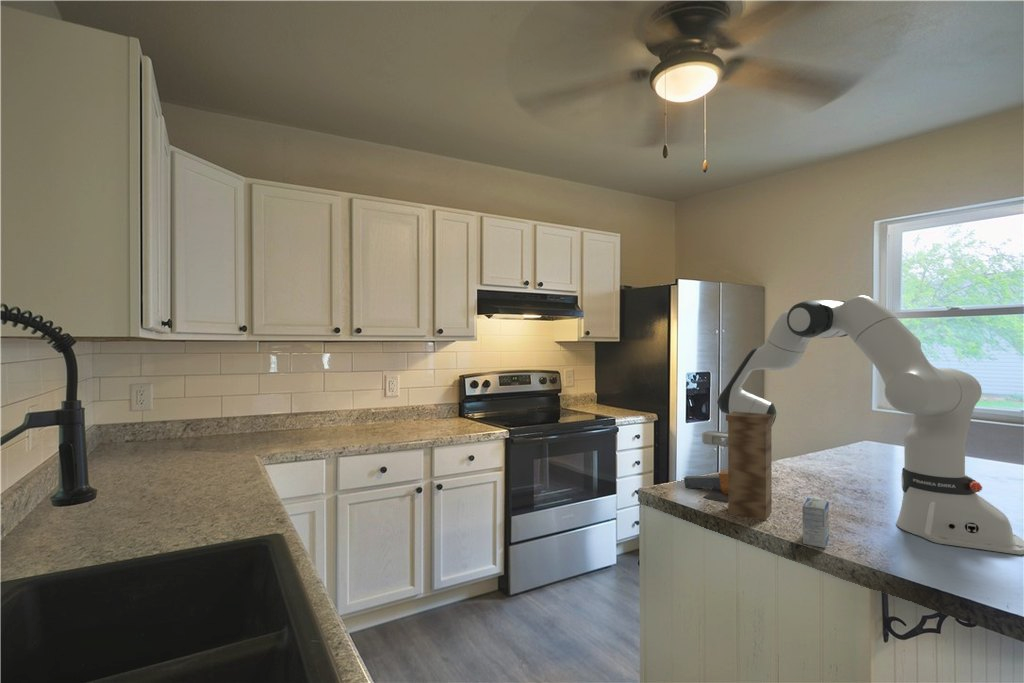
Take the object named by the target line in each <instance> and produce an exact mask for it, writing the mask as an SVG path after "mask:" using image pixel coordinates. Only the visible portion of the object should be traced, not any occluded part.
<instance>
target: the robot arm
mask: <svg viewBox="0 0 1024 683" xmlns="http://www.w3.org/2000/svg"><path fill="white" fill-rule="evenodd" d="M767 336H768V337H767V339H766V341H765V342H764V344H762V346H760V347H756V348H753V349H751V351H749V353H748V354H746V356H745V358H744V359H743V360H742V362H741V364H740V365H739V367H738V368H737V370H736V371H735V373H734V374H733V376H732V378H730V381H729V382H728V384H727V385H726V387H725V388H723V389H722V391H721V392H720V393H719V395H718V397H717V400H716V401H717V402H716V403H717V406H718V408H719V410H720V412H721V413H723V414H726V415H727V414H729V413H732V412H747V413H760V414H773V415H774V420H773V421H772V422H771V428H772V426H774V423H775V422H776V418H777V410H776V406H775V405H774V403H773V402H771V401H769V400H766V399H765V398H762V397H760V396H757V395H755V394H752V393H751V392H748V391H746V390H744V389H743V385H744V384H745V382H746V381H747V379H748V378H749V376H750V375H751V373H752V372H753V371H758V370H768V371H769V370H770V371H785V370H789V369H792V368H794V367H795V366H797V365H798V363H799V362H800V360H801V359H802V357H803V355H804V353H805V351H806V349H807V346H808V344H809V342H810V340H811V339H812V338H817V339H818V338H819V339H821V338H822V339H831V338H836V337H837V338H839V337H841V338H842V337H846V336H848V337H849V338H850V339H851V340H852V341H853V342H854V343H855V345H857V347H858V348H859V349H860V350H861V351H862V352H863V354H864V355H865V356H866V357H867V358H868V359H869V361H871V363H872V364H873V365H874V367H875V368H876V370H877V371H878V373H879V375H880V376H881V379H882V381H883V383H884V385H885V387H884V395H885V399H886V401H887V402H888V403H889V405H890V406H891V407H892V408H893V409H895V410H897V411H899V412H902V413H905V414H907V415H912V416H913V415H914V417H913V420H912V423H911V425H910V428H909V429H908V431H907V432H905V433H906V434H905V435H904V441H903V444H904V446H903V447H904V448H903V449H904V450H903V452H904V453H903V454H904V456H903V457H904V460H903V461H904V465H903V466H904V467H902V469H901V489H902V492H903V494H902V501H901V507H900V509H899V514H898V517H897V520H896V523H895V524H896V526H897V527H898V528H899V529H901V530H903V531H906V532H908V533H910V534H913V535H915V536H918V537H921V538H924V539H926V540H928V541H930V542H933V543H936V544H941V545H947V546H949V545H950V546H955V547H962V548H970V549H976V550H977V549H978V550H985V551H990V552H991V551H993V552H999V553H1005V554H1010V555H1011V554H1013V555H1024V539H1023V538H1022V537H1020V536H1018V535H1016V534H1014V533H1013V528H1012V524H1011V521H1010V520H1009V518H1008V516H1007V515H1006V514H1005V513H1004V512H1003V511H1002V510H1000V509H999V508H997V507H996V506H994V505H993V504H992V503H990V502H989V501H987V500H986V499H985V498H984V497H982V496H980V495H979V494H978V493H980V492H981V491H982V490H983V486H982V484H981V483H980V482H978V481H976V479H973V478H972V477H971V476H968V475H967V474H966V442H967V436H968V431H969V429H970V424H971V420H972V417H973V413H974V411H975V410H974V409H975V406H977V404H978V402H980V399H981V398H982V394H983V393H982V387H981V384H980V382H979V380H977V378H976V377H974V376H973V375H971V374H969V373H968V372H965V371H962V370H958V369H957V368H956V369H955V368H949V367H947V368H943V367H942V368H937V367H935V366H934V365H933V364H931V363H930V361H929V360H928V359H927V357H926V355H925V354H924V352H923V350H922V344H921V341H920V340H919V339H918V337H916V335H915V334H914V333H913V332H912V331H911V330H910V329H909V328H908V327H907V326H905V325H904V324H903V322H901V321H900V320H899V318H897V316H896V315H895V314H893V313H892V311H890V310H889V309H888V308H886V307H885V306H884V305H882V304H881V303H880V302H878V301H877V300H875V299H874V298H872V297H871V296H868V295H856V296H853V297H850V298H848V299H847V300H845V301H844V300H829V299H818V300H806V301H800V302H797V303H796V304H794V305H793V306H792V307H791V308H790V309H789V310H786V311H783V312H782V313H781V314H780V315H779V317H778V318H777V320H776V321H775V323H774V324H773V326H772V328H771V330H770V332H769V334H768V335H767ZM701 442H702V444H704V445H710V446H719V447H724V448H725V447H726V448H728V430H727V431H720V430H719V431H718V430H707V431H704V432H702V435H701Z"/></svg>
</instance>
